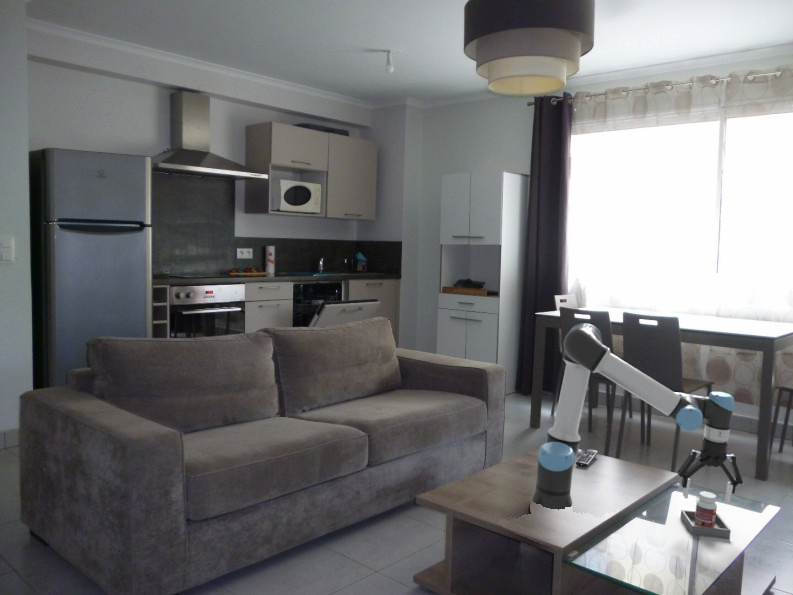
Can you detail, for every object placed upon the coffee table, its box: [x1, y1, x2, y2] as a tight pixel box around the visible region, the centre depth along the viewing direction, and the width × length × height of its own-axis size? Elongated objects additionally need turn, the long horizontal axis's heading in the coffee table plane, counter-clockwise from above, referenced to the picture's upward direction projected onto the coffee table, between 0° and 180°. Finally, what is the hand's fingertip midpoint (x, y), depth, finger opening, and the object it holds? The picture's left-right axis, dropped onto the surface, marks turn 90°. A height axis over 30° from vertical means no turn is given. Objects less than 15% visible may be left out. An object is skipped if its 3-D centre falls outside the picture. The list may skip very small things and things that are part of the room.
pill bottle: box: [694, 490, 718, 528], centre depth 220 cm, size 6×6×11 cm
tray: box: [679, 509, 732, 540], centre depth 221 cm, size 12×12×3 cm
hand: (706, 499), depth 220 cm, fingers open, 13 cm apart
